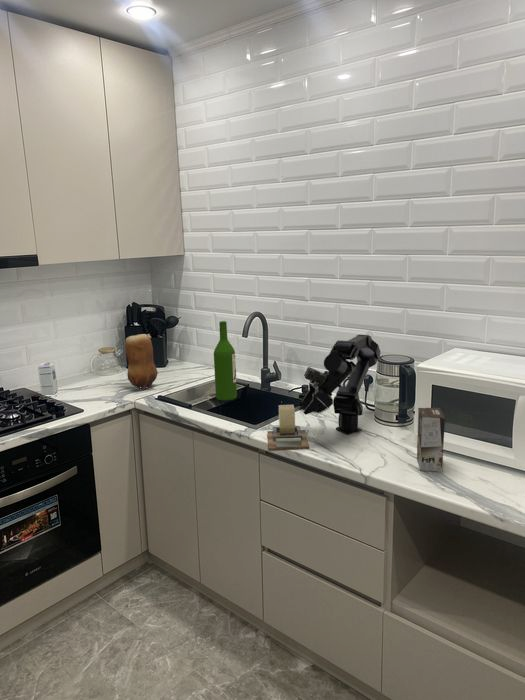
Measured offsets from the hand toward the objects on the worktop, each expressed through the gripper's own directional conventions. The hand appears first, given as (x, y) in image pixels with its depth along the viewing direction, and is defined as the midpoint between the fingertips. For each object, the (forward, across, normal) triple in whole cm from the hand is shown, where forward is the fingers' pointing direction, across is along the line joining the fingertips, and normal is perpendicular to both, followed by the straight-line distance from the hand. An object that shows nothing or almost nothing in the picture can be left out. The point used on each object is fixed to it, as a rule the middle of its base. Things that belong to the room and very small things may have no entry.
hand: (303, 409), depth 176 cm
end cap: (+3, -30, +12) cm, 32 cm away
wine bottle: (+27, -48, -13) cm, 57 cm away
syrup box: (+83, -60, -69) cm, 124 cm away
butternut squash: (+55, -67, -41) cm, 96 cm away
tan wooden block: (+10, 0, +3) cm, 11 cm away
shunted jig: (+11, +3, +3) cm, 12 cm away
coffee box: (-17, +24, +32) cm, 44 cm away
